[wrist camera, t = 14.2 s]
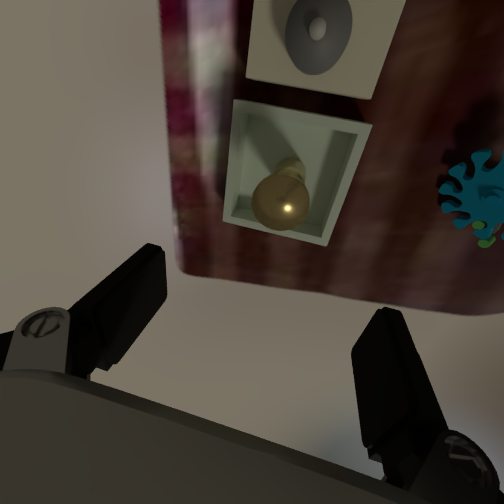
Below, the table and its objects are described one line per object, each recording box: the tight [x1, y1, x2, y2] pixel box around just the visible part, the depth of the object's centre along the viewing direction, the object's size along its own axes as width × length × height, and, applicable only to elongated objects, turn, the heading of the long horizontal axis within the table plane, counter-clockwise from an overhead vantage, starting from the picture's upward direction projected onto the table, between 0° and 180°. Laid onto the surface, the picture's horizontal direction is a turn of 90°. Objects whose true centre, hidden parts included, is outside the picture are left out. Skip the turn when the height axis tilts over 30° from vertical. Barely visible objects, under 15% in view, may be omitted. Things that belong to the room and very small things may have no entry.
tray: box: [223, 99, 372, 246], centre depth 30 cm, size 14×14×4 cm
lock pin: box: [251, 157, 310, 231], centre depth 26 cm, size 5×5×11 cm
